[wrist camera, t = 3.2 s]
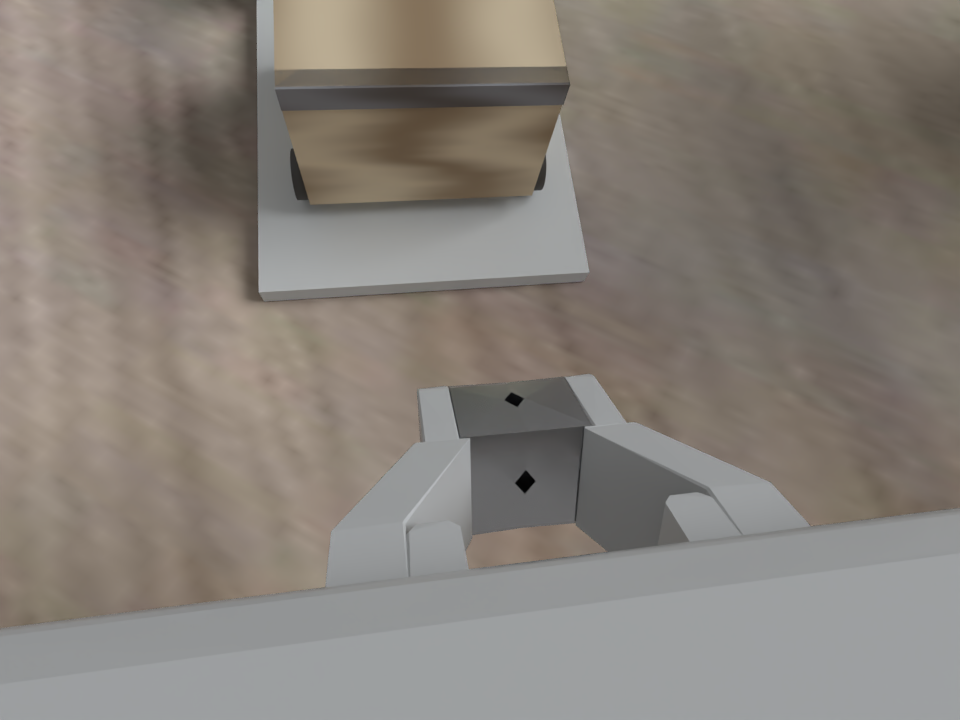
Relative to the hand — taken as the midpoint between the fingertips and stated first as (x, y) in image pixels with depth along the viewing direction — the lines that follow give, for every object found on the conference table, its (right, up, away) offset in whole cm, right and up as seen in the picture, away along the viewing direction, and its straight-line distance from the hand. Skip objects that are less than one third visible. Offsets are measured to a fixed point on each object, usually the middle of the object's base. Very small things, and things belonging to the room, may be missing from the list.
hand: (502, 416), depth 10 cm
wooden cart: (-4, +12, +19) cm, 23 cm away
